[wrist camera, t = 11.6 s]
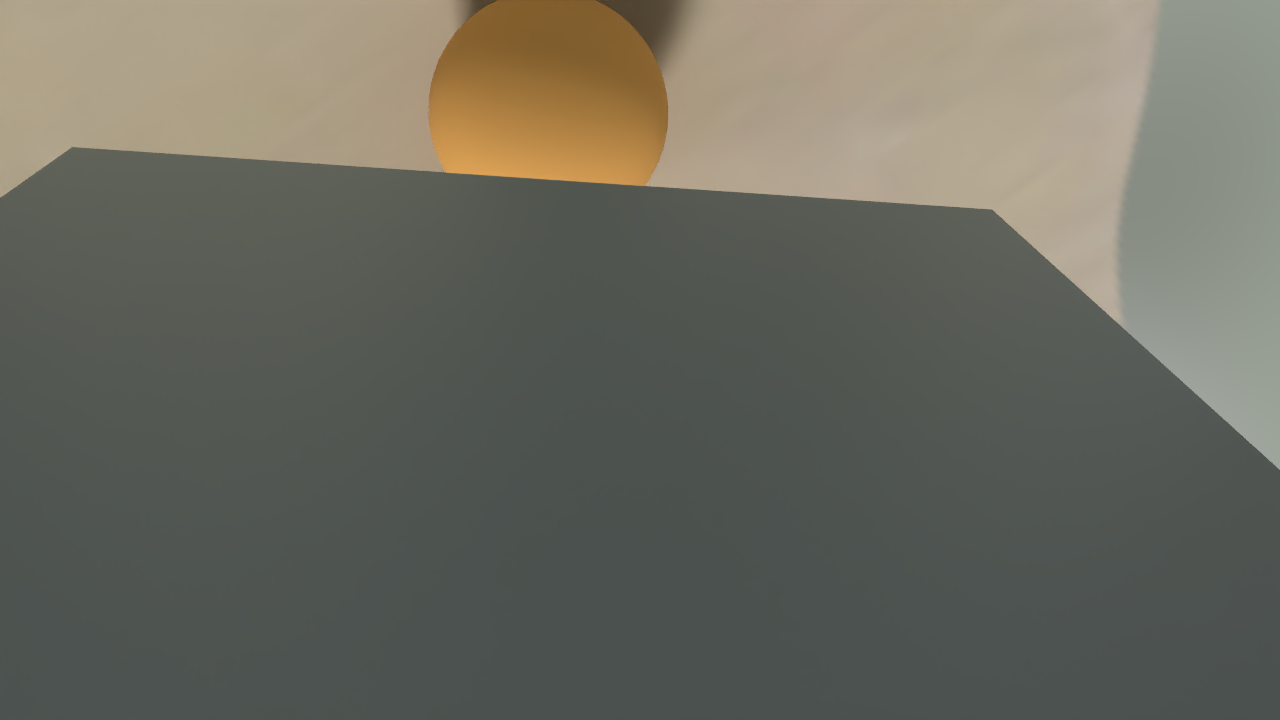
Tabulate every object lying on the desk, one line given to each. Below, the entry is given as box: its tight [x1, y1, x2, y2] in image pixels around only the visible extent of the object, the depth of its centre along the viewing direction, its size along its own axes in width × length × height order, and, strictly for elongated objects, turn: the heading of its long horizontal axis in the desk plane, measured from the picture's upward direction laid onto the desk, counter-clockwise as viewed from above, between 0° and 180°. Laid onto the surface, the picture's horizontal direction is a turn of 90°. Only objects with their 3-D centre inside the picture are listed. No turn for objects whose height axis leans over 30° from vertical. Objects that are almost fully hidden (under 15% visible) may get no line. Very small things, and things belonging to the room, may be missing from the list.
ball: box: [429, 0, 668, 186], centre depth 24 cm, size 5×5×5 cm
